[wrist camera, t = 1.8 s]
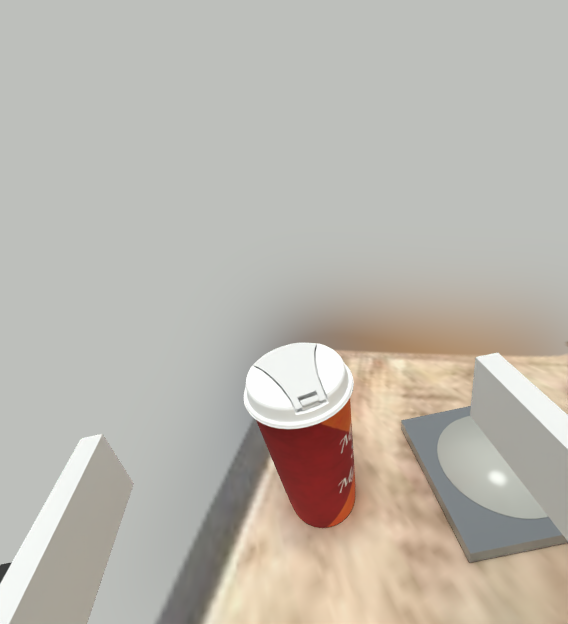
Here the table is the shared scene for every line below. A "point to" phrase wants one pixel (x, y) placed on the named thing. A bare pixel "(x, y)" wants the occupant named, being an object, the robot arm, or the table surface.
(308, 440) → the paper cup
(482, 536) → the coaster
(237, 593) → the table surface
